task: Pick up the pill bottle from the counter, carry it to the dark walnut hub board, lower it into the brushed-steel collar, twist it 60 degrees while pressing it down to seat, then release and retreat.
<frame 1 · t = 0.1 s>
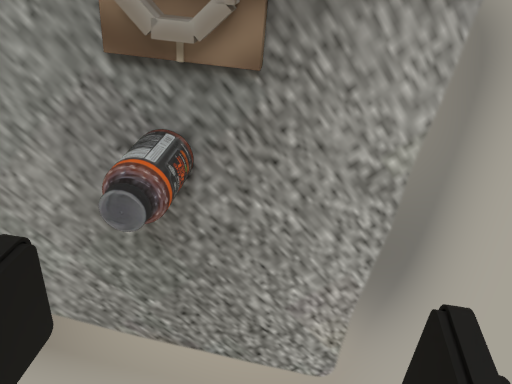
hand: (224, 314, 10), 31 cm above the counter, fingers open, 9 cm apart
supplement bottle: (167, 153, 44), on the counter
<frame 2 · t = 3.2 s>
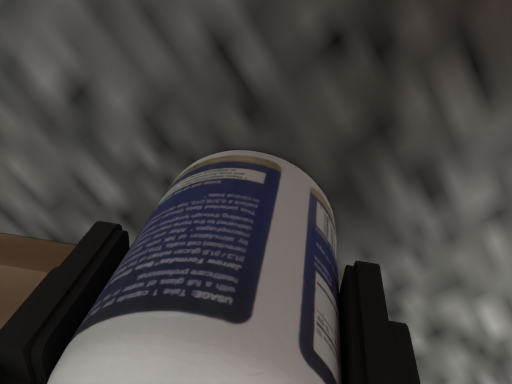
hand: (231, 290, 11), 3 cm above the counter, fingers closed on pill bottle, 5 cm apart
pill bottle: (250, 220, 14), on the counter, touching gripper
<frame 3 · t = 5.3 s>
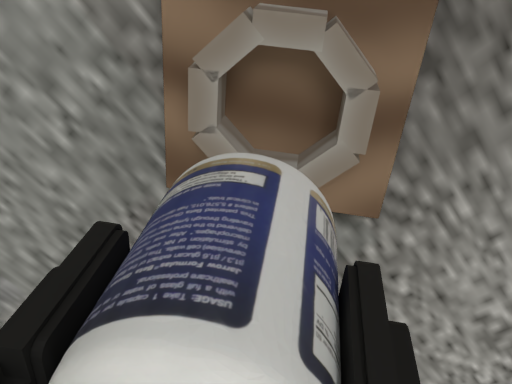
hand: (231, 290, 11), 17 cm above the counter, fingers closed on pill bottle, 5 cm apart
hub board: (284, 91, 26), on the counter
pill bottle: (250, 222, 14), point 14 cm above the counter, touching gripper
when the fingers open (5 cm above the counter, at t = 7.6 s): pill bottle stays where it is, resting on hub board.
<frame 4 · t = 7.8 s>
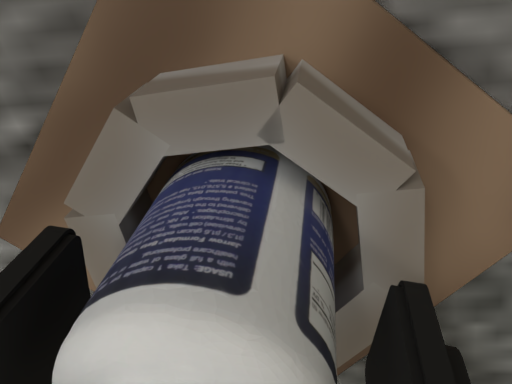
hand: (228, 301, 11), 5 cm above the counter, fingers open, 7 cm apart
hub board: (258, 192, 15), on the counter
pill bottle: (249, 209, 14), point 1 cm above the counter, touching hub board
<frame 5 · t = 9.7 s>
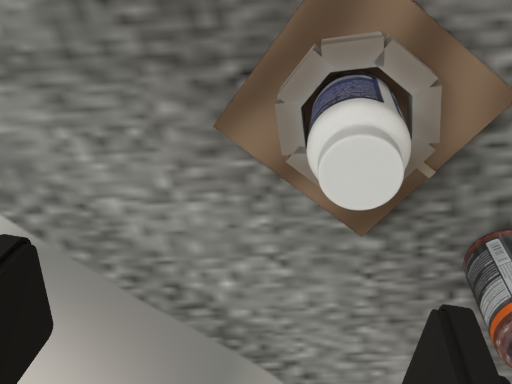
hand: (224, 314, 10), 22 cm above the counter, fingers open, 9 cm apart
supplement bottle: (501, 256, 34), on the counter
hub board: (354, 105, 30), on the counter
pill bottle: (352, 109, 29), point 1 cm above the counter, touching hub board
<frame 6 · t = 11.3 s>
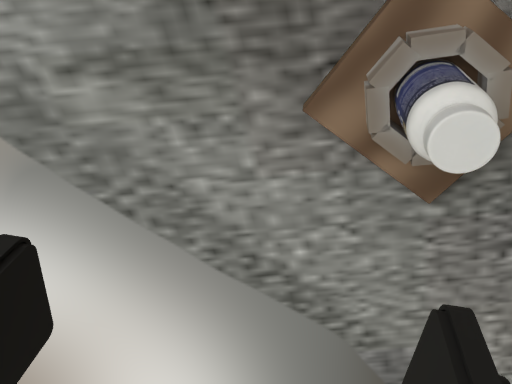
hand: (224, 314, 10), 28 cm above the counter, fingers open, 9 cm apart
hub board: (426, 88, 34), on the counter
pill bottle: (428, 92, 33), point 1 cm above the counter, touching hub board
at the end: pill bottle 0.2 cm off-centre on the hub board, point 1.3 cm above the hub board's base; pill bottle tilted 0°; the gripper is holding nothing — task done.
